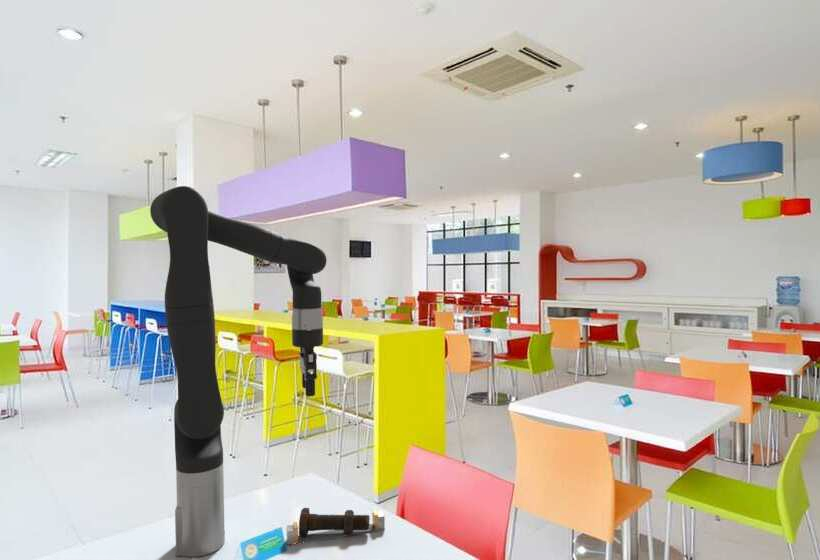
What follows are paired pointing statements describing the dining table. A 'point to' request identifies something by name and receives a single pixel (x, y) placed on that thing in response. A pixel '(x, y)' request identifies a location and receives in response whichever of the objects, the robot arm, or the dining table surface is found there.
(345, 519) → the bolt
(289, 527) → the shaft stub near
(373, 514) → the small wooden block
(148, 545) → the dining table surface
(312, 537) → the pad
